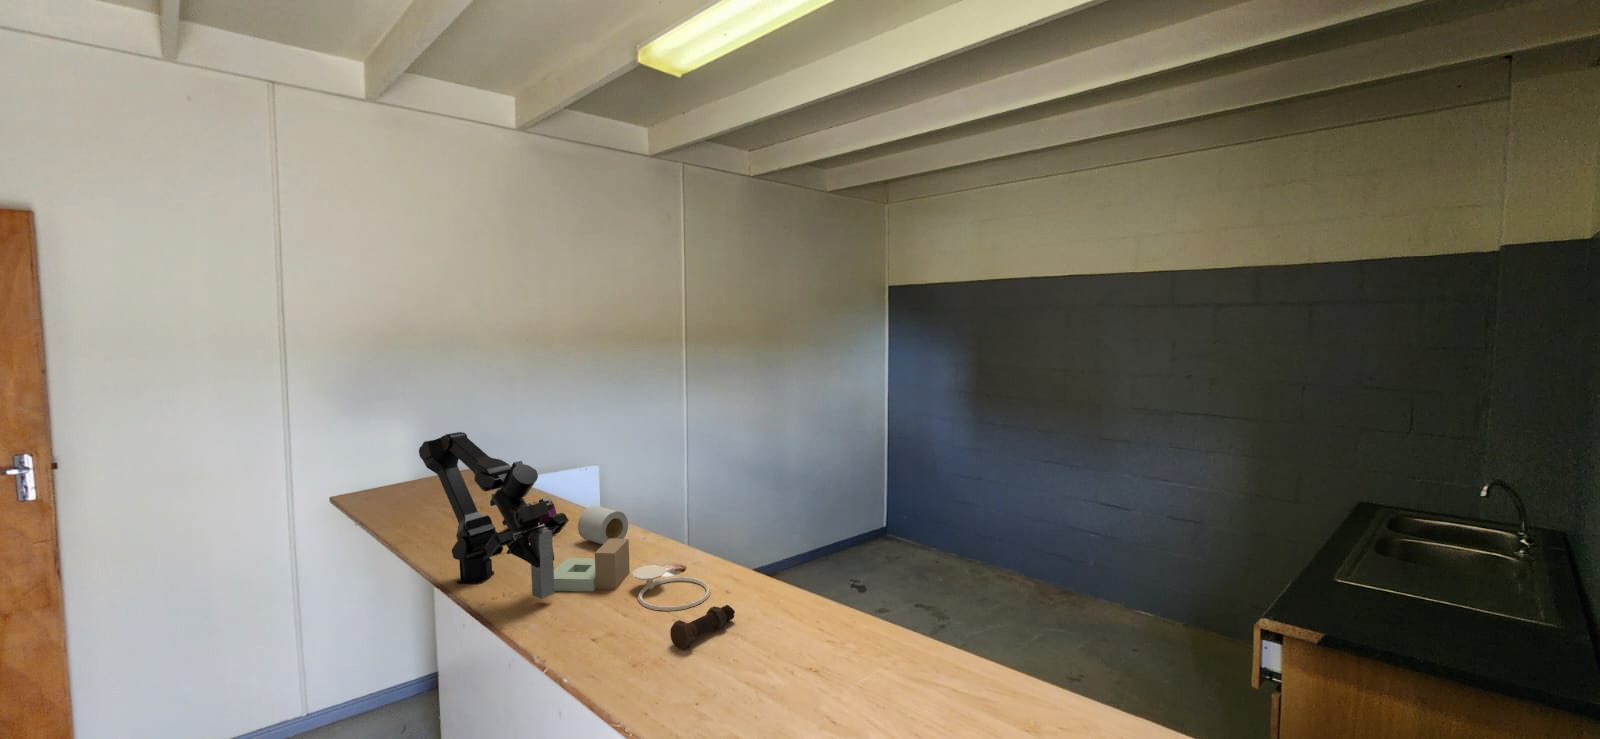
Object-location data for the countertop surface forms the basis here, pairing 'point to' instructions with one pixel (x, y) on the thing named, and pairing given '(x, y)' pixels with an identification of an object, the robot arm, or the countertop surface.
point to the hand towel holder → (657, 571)
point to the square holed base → (595, 569)
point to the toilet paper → (602, 524)
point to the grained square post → (542, 563)
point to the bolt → (700, 626)
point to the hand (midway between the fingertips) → (546, 563)
